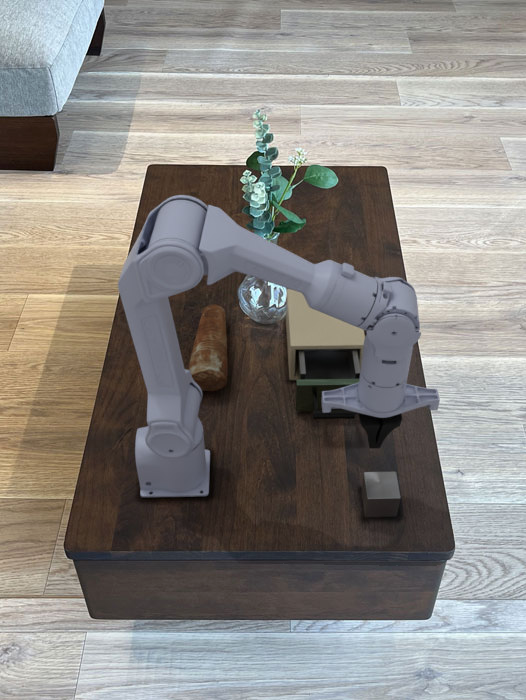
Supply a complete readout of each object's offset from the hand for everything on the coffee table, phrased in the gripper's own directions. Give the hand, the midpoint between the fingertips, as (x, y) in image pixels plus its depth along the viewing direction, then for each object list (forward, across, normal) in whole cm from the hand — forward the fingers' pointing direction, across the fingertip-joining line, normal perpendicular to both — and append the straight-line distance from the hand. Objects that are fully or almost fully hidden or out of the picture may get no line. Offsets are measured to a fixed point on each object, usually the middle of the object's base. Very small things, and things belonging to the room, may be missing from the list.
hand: (373, 442), depth 106 cm
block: (+10, -1, +3) cm, 10 cm away
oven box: (+9, +4, -27) cm, 29 cm away
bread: (+10, +23, -27) cm, 37 cm away
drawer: (+8, +4, -17) cm, 20 cm away
